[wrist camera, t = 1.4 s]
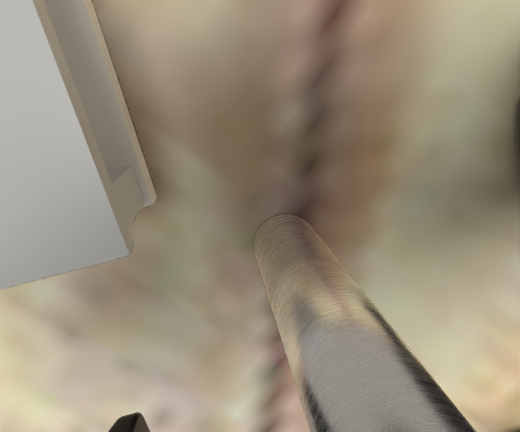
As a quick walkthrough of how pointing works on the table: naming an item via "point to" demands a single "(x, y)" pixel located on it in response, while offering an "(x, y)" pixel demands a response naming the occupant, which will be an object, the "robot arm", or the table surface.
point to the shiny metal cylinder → (343, 342)
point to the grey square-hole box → (63, 144)
